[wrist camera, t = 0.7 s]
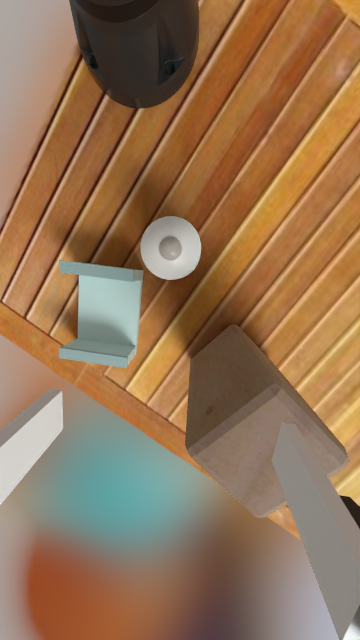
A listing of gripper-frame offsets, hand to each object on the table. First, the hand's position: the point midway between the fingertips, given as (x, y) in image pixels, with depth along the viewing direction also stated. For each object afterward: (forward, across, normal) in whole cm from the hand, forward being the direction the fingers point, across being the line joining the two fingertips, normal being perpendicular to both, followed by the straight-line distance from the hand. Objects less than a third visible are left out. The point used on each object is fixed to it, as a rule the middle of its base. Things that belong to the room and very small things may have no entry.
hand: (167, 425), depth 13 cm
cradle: (+24, -13, +1) cm, 27 cm away
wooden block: (+24, +8, -6) cm, 26 cm away
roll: (+24, -3, +11) cm, 26 cm away
